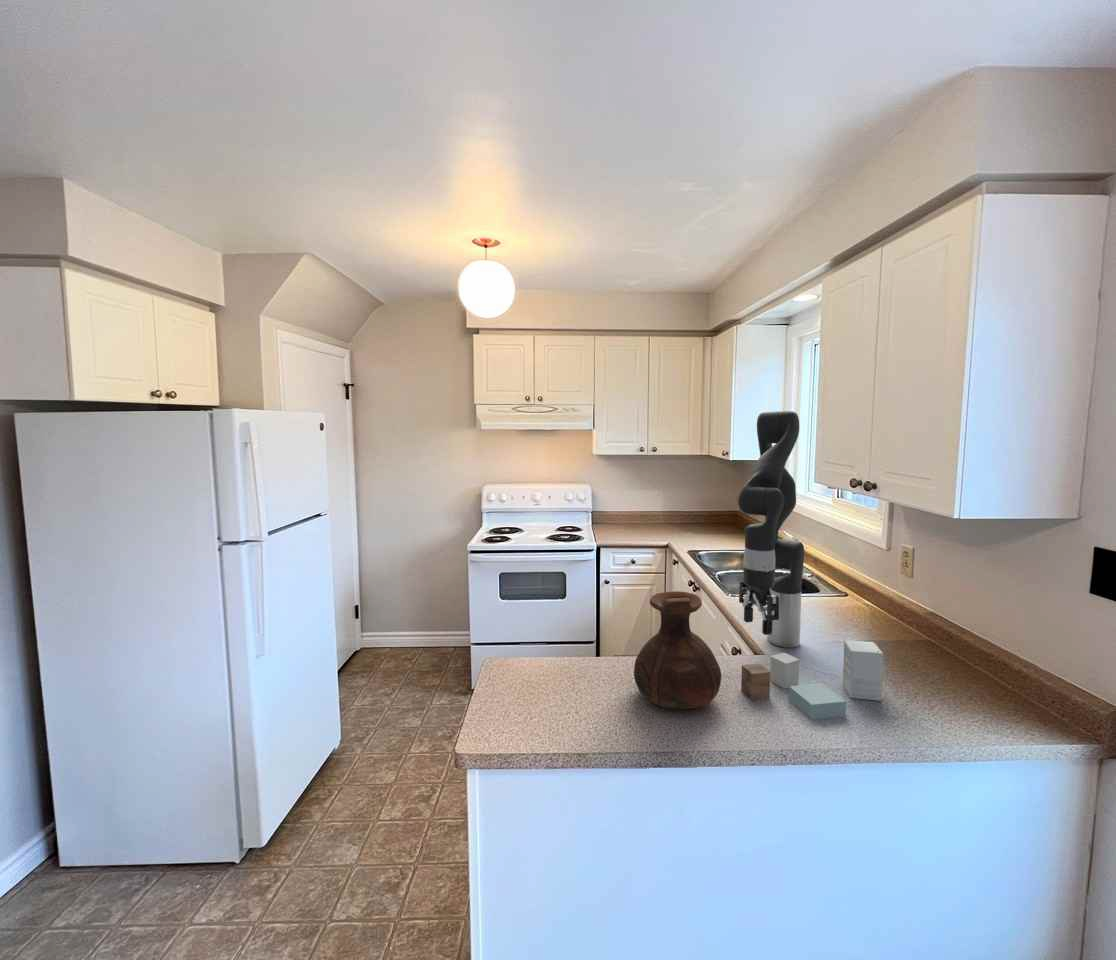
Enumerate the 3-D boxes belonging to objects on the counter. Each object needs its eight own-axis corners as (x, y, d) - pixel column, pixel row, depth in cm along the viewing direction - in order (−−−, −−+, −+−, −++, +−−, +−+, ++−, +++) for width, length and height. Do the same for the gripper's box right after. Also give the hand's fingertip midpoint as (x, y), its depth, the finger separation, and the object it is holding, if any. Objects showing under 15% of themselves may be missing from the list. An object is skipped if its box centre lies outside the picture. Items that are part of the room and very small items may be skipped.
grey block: (770, 680, 143) (770, 656, 142) (783, 676, 145) (784, 652, 145) (785, 688, 139) (786, 663, 138) (798, 684, 141) (799, 659, 140)
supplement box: (872, 687, 139) (874, 641, 137) (881, 702, 132) (884, 653, 130) (841, 684, 141) (843, 638, 139) (848, 698, 134) (851, 650, 132)
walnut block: (741, 690, 138) (741, 665, 137) (758, 688, 139) (759, 663, 138) (751, 700, 133) (752, 673, 132) (769, 698, 134) (770, 671, 133)
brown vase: (615, 696, 136) (615, 583, 133) (668, 671, 149) (669, 568, 146) (685, 733, 119) (686, 605, 116) (737, 701, 133) (740, 585, 130)
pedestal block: (788, 701, 133) (789, 686, 133) (821, 698, 134) (821, 683, 134) (810, 720, 124) (811, 704, 124) (845, 717, 125) (846, 701, 125)
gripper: (731, 559, 139) (729, 619, 140) (761, 574, 125) (759, 640, 127) (756, 558, 140) (755, 617, 142) (790, 572, 126) (787, 637, 128)
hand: (757, 627), depth 134 cm, fingers open, 8 cm apart
